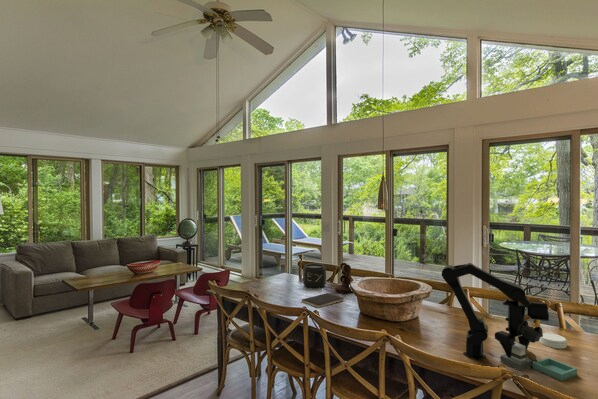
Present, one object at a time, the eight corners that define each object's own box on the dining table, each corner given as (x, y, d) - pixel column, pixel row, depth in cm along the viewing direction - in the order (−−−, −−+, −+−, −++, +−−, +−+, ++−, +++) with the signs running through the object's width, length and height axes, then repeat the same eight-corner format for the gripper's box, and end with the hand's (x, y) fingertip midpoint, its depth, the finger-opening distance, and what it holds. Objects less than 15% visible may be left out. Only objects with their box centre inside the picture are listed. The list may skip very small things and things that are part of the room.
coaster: (534, 339, 157) (534, 332, 157) (555, 339, 157) (555, 332, 157) (549, 349, 147) (549, 341, 147) (572, 349, 147) (572, 341, 147)
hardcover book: (344, 301, 218) (344, 298, 218) (318, 308, 204) (318, 305, 204) (327, 295, 231) (327, 292, 231) (301, 302, 216) (301, 299, 216)
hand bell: (512, 327, 146) (531, 346, 130) (529, 337, 145) (551, 358, 130) (501, 343, 147) (519, 363, 132) (518, 352, 147) (538, 374, 131)
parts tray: (561, 381, 121) (561, 374, 121) (532, 368, 130) (532, 362, 130) (577, 375, 125) (577, 368, 125) (548, 363, 134) (548, 357, 134)
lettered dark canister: (297, 286, 254) (297, 266, 254) (312, 282, 268) (312, 262, 268) (316, 290, 242) (316, 269, 242) (330, 285, 256) (330, 265, 256)
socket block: (520, 370, 128) (520, 364, 128) (500, 361, 136) (500, 355, 136) (533, 366, 132) (533, 360, 132) (513, 357, 139) (513, 351, 139)
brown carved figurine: (358, 293, 236) (358, 264, 236) (339, 294, 233) (339, 265, 233) (351, 287, 250) (351, 261, 250) (332, 288, 247) (332, 262, 247)
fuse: (520, 368, 131) (520, 347, 131) (507, 362, 135) (507, 342, 135) (525, 366, 132) (525, 346, 132) (512, 360, 137) (512, 341, 137)
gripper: (522, 327, 122) (522, 369, 122) (552, 319, 130) (552, 359, 130) (493, 317, 133) (493, 356, 133) (523, 311, 140) (523, 347, 140)
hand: (516, 355), depth 134 cm, fingers open, 9 cm apart
